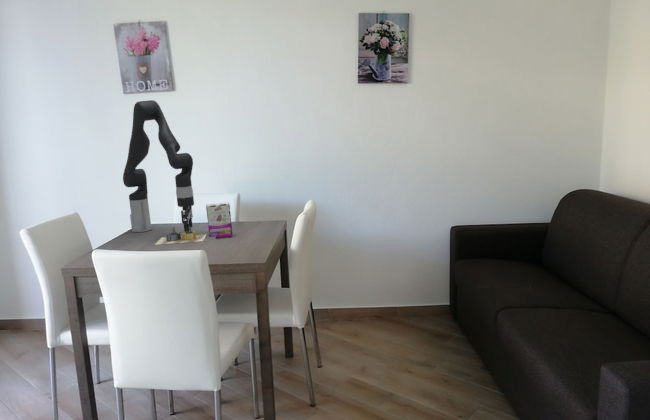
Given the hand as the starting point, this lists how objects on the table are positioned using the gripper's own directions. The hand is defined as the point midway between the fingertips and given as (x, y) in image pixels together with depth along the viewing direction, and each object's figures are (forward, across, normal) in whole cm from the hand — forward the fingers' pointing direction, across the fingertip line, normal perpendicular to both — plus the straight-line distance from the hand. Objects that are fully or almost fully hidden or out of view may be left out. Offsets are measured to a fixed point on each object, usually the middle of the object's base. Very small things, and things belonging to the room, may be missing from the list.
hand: (188, 229), depth 222 cm
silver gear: (+4, 0, -7) cm, 9 cm away
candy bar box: (+6, -4, +14) cm, 16 cm away
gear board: (+6, 0, -4) cm, 7 cm away
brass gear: (+4, 0, 0) cm, 5 cm away
